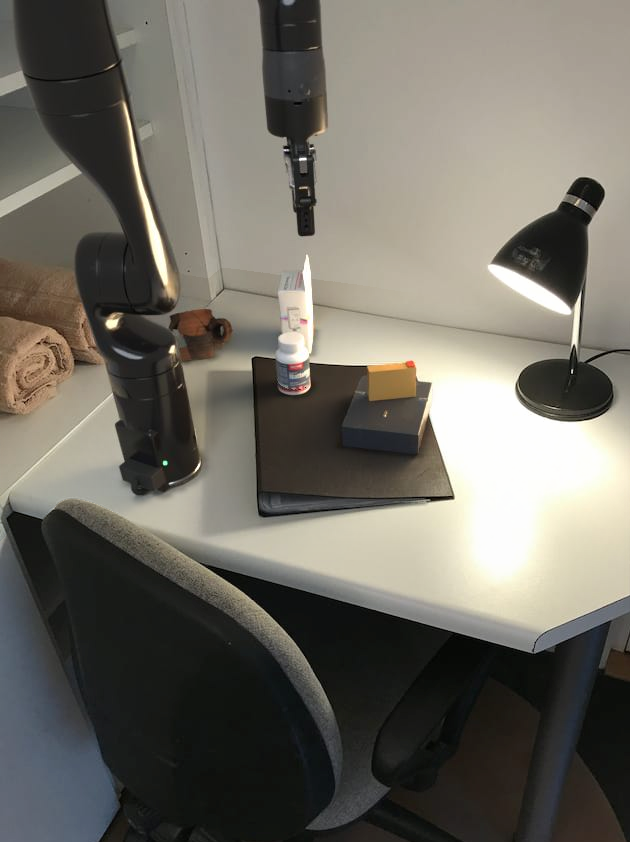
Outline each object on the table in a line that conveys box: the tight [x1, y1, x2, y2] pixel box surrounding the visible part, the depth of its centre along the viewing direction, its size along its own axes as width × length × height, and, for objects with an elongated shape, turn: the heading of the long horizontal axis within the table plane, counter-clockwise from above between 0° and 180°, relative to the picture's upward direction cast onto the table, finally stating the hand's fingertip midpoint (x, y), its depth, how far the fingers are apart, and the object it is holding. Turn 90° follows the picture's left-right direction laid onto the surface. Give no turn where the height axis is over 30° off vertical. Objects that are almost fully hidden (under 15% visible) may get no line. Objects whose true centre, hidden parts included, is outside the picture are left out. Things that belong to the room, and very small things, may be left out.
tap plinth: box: [341, 375, 433, 455], centre depth 112 cm, size 15×11×4 cm
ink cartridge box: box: [277, 254, 314, 355], centre depth 128 cm, size 9×5×15 cm, turn 179°
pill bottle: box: [274, 332, 311, 396], centre depth 119 cm, size 5×5×9 cm
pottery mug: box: [167, 308, 234, 362], centre depth 131 cm, size 12×10×8 cm
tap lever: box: [366, 360, 417, 401], centre depth 111 cm, size 7×2×5 cm, turn 99°
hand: (303, 223), depth 101 cm, fingers open, 8 cm apart
